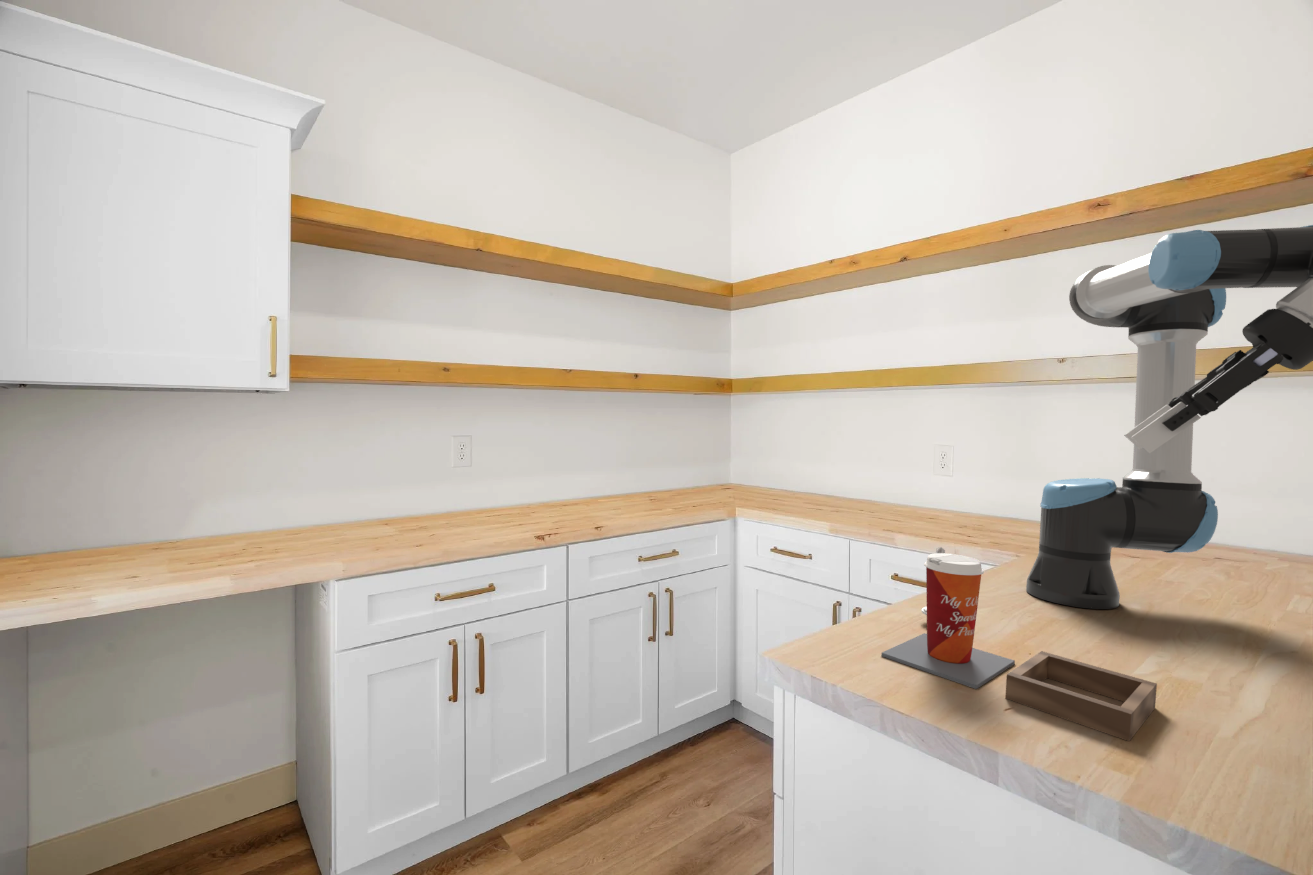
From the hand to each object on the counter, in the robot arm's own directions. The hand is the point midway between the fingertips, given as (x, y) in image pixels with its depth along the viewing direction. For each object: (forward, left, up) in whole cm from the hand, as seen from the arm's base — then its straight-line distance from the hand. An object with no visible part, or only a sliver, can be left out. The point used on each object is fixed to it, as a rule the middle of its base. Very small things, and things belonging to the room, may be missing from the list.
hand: (1135, 443), depth 83 cm
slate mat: (+15, -17, -32) cm, 39 cm away
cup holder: (+15, -1, -32) cm, 35 cm away
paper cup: (+15, -17, -31) cm, 39 cm away
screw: (+1, -25, -32) cm, 40 cm away
